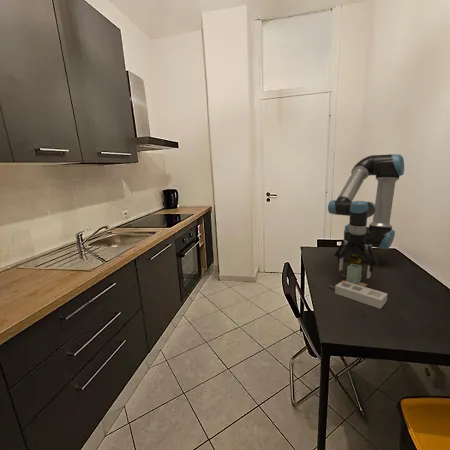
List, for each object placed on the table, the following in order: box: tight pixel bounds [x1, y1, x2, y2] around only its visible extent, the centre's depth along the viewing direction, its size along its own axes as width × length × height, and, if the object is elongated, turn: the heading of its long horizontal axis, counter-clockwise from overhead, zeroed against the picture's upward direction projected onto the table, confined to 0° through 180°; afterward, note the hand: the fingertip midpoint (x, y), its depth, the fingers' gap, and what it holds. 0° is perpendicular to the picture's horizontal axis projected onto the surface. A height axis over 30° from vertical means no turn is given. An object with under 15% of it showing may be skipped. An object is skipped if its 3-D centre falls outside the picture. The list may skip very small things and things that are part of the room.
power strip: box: [328, 280, 388, 310], centre depth 123 cm, size 25×8×4 cm, turn 43°
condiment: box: [341, 254, 363, 278], centre depth 143 cm, size 7×8×12 cm
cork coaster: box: [344, 278, 368, 287], centre depth 133 cm, size 10×10×1 cm
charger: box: [346, 264, 363, 285], centre depth 132 cm, size 5×5×10 cm
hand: (354, 273), depth 132 cm, fingers open, 13 cm apart
